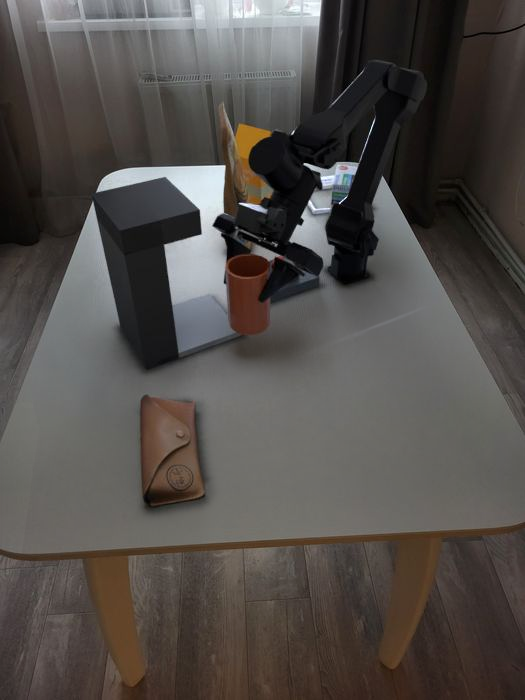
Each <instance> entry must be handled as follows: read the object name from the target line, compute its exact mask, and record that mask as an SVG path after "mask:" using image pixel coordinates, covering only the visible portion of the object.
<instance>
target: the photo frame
mask: <svg viewBox="0 0 525 700" xmlns="http://www.w3.org/2000/svg"><path fill="white" fill-rule="evenodd" d="M334 176H335V175H324V176H321V181H322V184H323V188H322V190H328V189H332V185H333V180H334ZM314 191H318V190H317V189H315V190H314ZM307 206H308V207H309V209H310V210H311V212H312V214H313V215H318V214H319V215H320V214H328V213H329V214H330V208H331V207H323V208H316V207H315V205H314V204H313V202H312V200H311V199H310V200H309V202H308V204H307Z"/></svg>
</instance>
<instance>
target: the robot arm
mask: <svg viewBox="0 0 525 700" xmlns="http://www.w3.org/2000/svg"><path fill="white" fill-rule="evenodd" d="M427 90H428V82H427V80H426V79H425V75H424V73H423V72H422V71H419V70H416V69H415V70H414V69H410V68H409V69H408V68H405V67H401V66H400V67H399V66H398V65H396V64H395V63H393V62H388V61H384V60H378V59H372V60H368V61H366V63H365V64H364V67H363V69H362V72H361V73H360V74H359V75H358V76H357V77H356V78H355V79H354V81H352V82H351V84H350V85H348V87H347V88H346V89H345V90H344V91H342V93H341V94H340V95H339V96H338V97H337V99H335V101H334V102H333V103H332V104H331V105H330V106H329V107H328V108H327V109H326V110H324V111H321V112H319V113H316V114H315V113H314V114H312V115H310V116H308V117H307V118H306V119H305V120H303V121H302V122H301V123H299V124H298V125H297V126H296V128H295V129H294V130H293V131H291V132H290V133H289V134H287V133H286V132H285V131H282V130H278V129H273V131H272V132H271V134H272V135H271V136H270V137H266V138H264V139H262V140H260V141H259V142H258V143H257V144H256V145H255V146H253V147H252V149H251V151H250V153H249V158H248V162H249V166H250V168H251V170H252V171H253V172H254V173H255V174H256V175H257V176H258V177H260V178H261V179H262V180H263V181H264V182H265V183H266V184H267V185H268V186H269V187H270V188H272V189H273V192H272V194H271V196H270V198H266V197H264V199H262V200H261V202H260V204H259V205H254V204H246V203H238V207H237V211H236V215H235V217H232V216H230V215H228V214H225V213H224V212H222V213H220V214H217V216H216V217H215V219H214V221H213V223H212V225H211V226H212V228H214V229H216V230H217V231H218V232H220V237H221V238H222V239H224V242H225V243H224V244H225V246H226V258H225V264H226V263H227V262H228V260H229V259H231V258H233V257H235V256H237V255H242V254H251V252H252V249H251V248H250V249H249V248H247V247H246V244H247V242H251V244H253V245H256V246H258V247H260V248H263V249H265V250H267V251H269V252H271V253H273V254H276V255H278V256H283V259H280V258H277V257H278V256H274V258H275V259H274V258H273V259H274V268H273V271H272V273H271V275H270V276H269V278H268V280H267V282H266V284H265V286H264V288H263V290H262V292H261V294H260V297H259V300H258V301H259V302H261V303H263V302H265V301H266V300H267V299H268V298H270V297H271V296H272V295H273V294H274V293H276V292H277V291H278V290H279V289H280V288H282V287H283V286H284V285H286V284H287V283H289V282H290V281H292V280H293V279H295V278H296V277H298V276H303V277H304V275H305V273H303V272H304V271H305V272H307V273H310V274H312V275H314V276H316V277H318V276H319V277H320V274H321V273H322V270H323V269H324V259H323V258H322V257H321V255H319V254H318V253H317V252H315V251H314V250H313V249H312V248H309V247H307V246H304V245H302V244H300V243H297V242H295V241H292V242H291V241H290V240H291V238H292V236H293V234H294V233H295V230H296V228H297V226H300V227H302V226H303V224H304V222H305V219H304V218H302V216H303V214H304V213H305V210H306V208H307V206H308V202H309V200H311V199H312V196H313V195H314V192H315V191H322V190H323V189H322V188H323V184H322V181H321V177H322V174H321V172H319V171H318V170H317V171H316V170H314V169H311V168H310V167H309V165H310V166H313V167H316V168H320V169H322V170H331V169H332V168H333V167H334V166H335V165H336V164H337V163H338V162H339V161H340V159H341V157H342V155H343V154H344V153H345V151H346V149H347V143H348V142H347V140H348V136H349V135H350V133H351V132H352V131H353V129H354V128H356V127H357V125H358V124H359V123H360V122H361V121H362V119H364V117H365V116H366V115H367V114H368V113H369V111H370V110H372V109H373V111H374V118H373V119H374V120H373V122H372V125H371V128H370V131H369V134H368V136H367V140H366V142H365V145H364V148H363V151H362V153H361V156H360V159H359V161H358V165H357V166H356V167H357V170H356V173H355V176H354V179H353V181H352V184H351V187H350V190H349V193H348V195H347V197H346V198H345V199H344V200H342V201H341V202H340V203H335V204H334V205H333V207H332V210H331V214H330V213H329V216H328V219H327V221H326V222H325V227H324V229H325V230H324V231H325V235H326V236H325V237H326V241H327V245H328V246H333V247H334V248H333V254H332V255H331V263H330V266H328V267H327V271H328V272H330V273H331V274H332V275H333V276H334V277H335V278H336V279H337V280H338V281H339V282H341V284H343V285H349V284H351V283H354V282H358V281H361V280H364V279H368V278H370V277H371V273H370V272H369V271H368V270H367V264H368V258H369V257H372V256H374V255H375V251H376V250H377V247H378V244H379V241H380V239H379V238H378V236H377V235H376V234H375V233H374V231H373V229H374V225H375V215H374V210H373V203H374V199H375V197H376V194H377V192H378V189H379V186H380V183H381V181H382V178H383V175H384V173H385V170H386V167H387V164H388V162H389V159H390V156H391V154H392V151H393V149H394V145H395V143H396V140H397V137H398V135H399V132H400V129H401V127H402V126H403V125H404V124H405V123H406V122H407V121H408V120H410V118H412V117H413V116H414V115H415V114H416V113H417V111H418V107H419V106H420V104H421V101H423V99H424V98H425V95H426V93H427ZM306 164H308V165H306ZM315 189H317V190H315ZM223 284H224V285H225V286H226V274H225V273H224V274H223Z"/></svg>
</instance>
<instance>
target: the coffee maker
mask: <svg viewBox="0 0 525 700" xmlns="http://www.w3.org/2000/svg"><path fill="white" fill-rule="evenodd" d="M91 198H92V203H93V207H94V212H95V217H96V221H97V225H98V230H99V231H98V232H99V235H100V239H101V244H102V249H103V253H104V254H103V255H104V259H105V263H106V268H107V273H108V277H109V281H110V286H111V291H112V295H113V299H114V304H115V309H116V312H117V313H116V314H117V318H118V322H119V327H120V329H121V331H122V333H123V334H124V336H125V338H126V339H127V341H128V343H129V345H130V346H131V347H132V349H133V351H134V352H135V354H136V356H137V357H138V360H139V362H141V364H142V366H143V368H144V369H145V371H148V370H151V369H154V368H156V367H158V366H161V365H164V364H167V363H170V362H172V361H176V360H178V359H181V358H183V357H186V356H189V355H192V354H195V353H198V352H200V351H203V350H206V349H208V348H211V347H213V346H216V345H219V344H222V343H225V342H228V341H230V340H233V339H235V338H240V337H241V336H242V334H240V333H237V332H235V331H234V330H232V329H231V327H230V325H229V321H228V313H227V312H226V311H225V310H224V309H223V308H222V307H221V306H220V304H219V303H218V302H217V301H216V299H215V298H214V297H213V296H212V294H210V293H208V294H204V295H201V296H199V297H195V298H192V299H189V300H185V301H183V302H179V303H176V304H173V300H172V299H173V298H172V293H171V284H170V277H169V270H168V262H167V255H166V248H165V245H169V244H172V243H176V242H179V241H184V240H187V239H190V238H193V237H197V236H201V235H203V230H202V229H203V228H202V220H201V219H202V217H201V209H200V208H199V207H198V206H197V205H196V204H195V203H194V202H192V201H191V200H190V199H189V198H188V197H187V196H186V195H185V194H184V193H183V192H182V191H181V190H180V189H179V188H178V187H177V186H175V184H173V182H172V181H171V180H170V179H168V178H167V177H166V176H162V177H158V178H154V179H150V180H144V181H141V182H136V183H132V184H128V185H123V186H119V187H114V188H110V189H105V190H101V191H96V192H92V193H91Z"/></svg>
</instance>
